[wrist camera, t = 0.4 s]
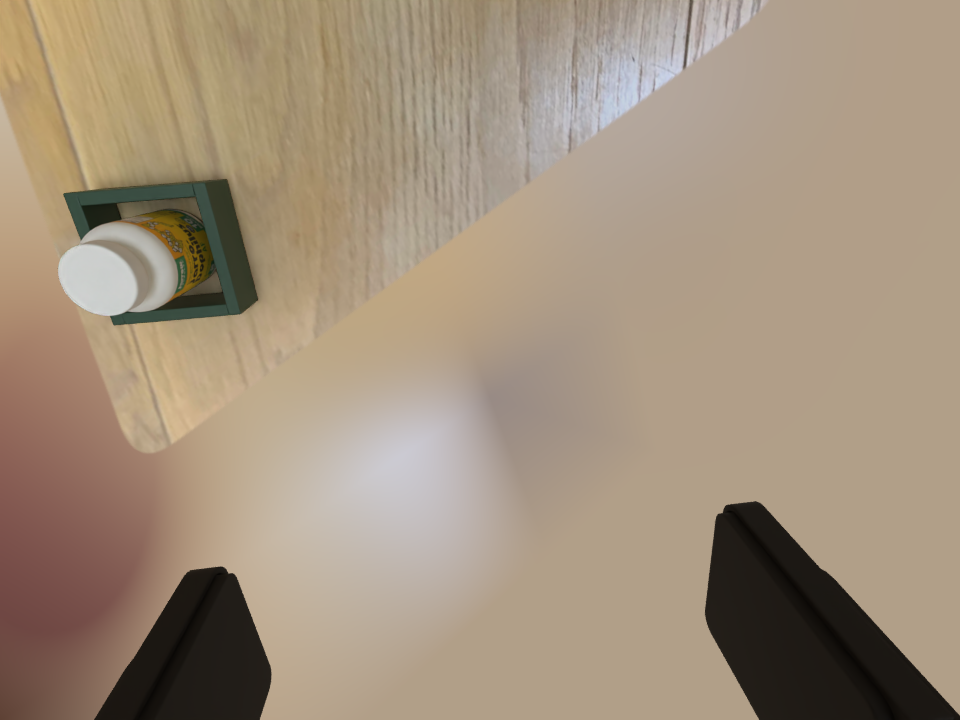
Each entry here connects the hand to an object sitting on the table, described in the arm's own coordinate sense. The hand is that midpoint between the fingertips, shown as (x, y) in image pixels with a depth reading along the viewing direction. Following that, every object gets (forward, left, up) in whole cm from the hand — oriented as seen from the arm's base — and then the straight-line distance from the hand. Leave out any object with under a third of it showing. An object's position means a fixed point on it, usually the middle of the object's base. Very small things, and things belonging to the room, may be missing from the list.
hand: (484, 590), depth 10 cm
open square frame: (-3, -19, -30) cm, 36 cm away
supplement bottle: (-3, -19, -30) cm, 36 cm away
